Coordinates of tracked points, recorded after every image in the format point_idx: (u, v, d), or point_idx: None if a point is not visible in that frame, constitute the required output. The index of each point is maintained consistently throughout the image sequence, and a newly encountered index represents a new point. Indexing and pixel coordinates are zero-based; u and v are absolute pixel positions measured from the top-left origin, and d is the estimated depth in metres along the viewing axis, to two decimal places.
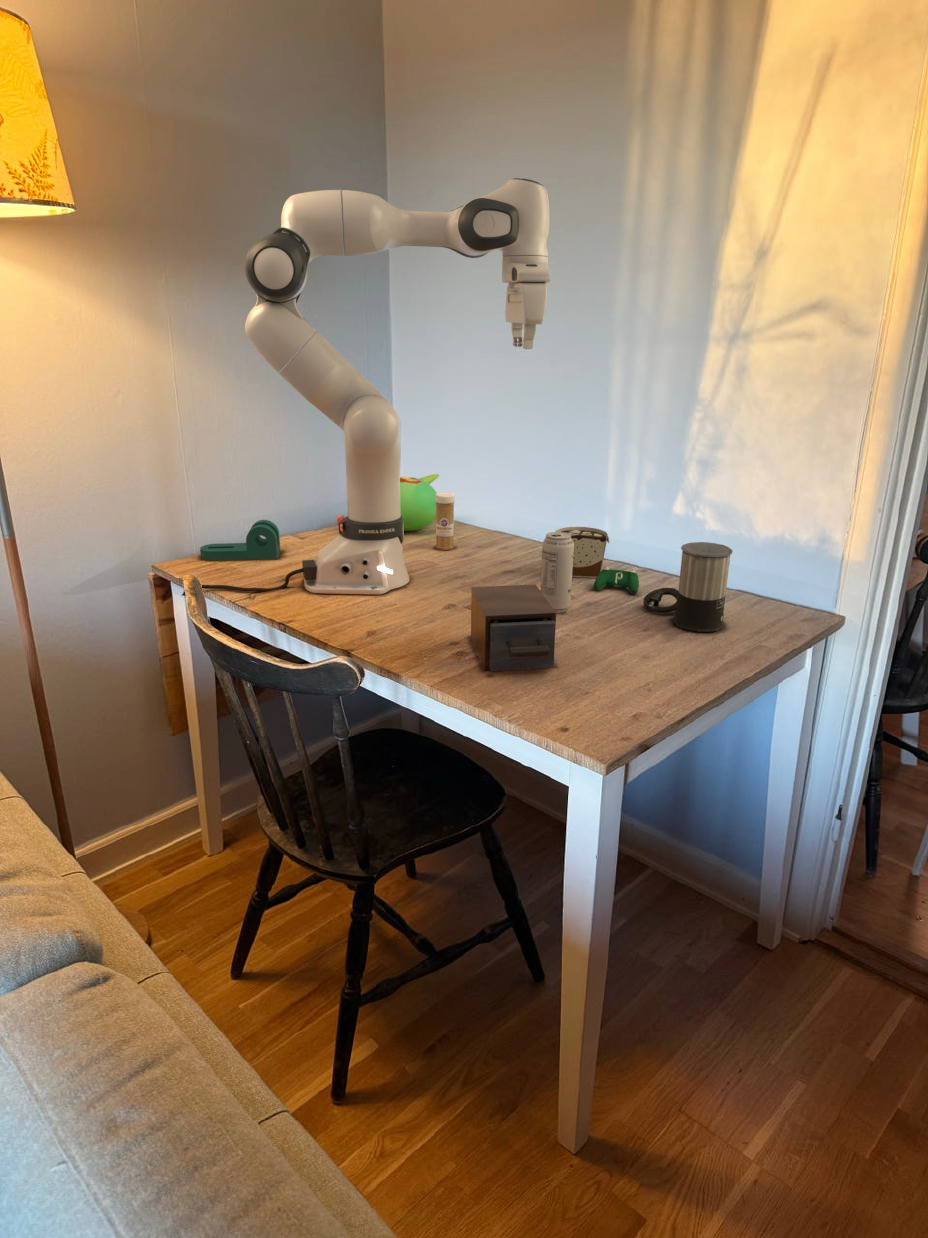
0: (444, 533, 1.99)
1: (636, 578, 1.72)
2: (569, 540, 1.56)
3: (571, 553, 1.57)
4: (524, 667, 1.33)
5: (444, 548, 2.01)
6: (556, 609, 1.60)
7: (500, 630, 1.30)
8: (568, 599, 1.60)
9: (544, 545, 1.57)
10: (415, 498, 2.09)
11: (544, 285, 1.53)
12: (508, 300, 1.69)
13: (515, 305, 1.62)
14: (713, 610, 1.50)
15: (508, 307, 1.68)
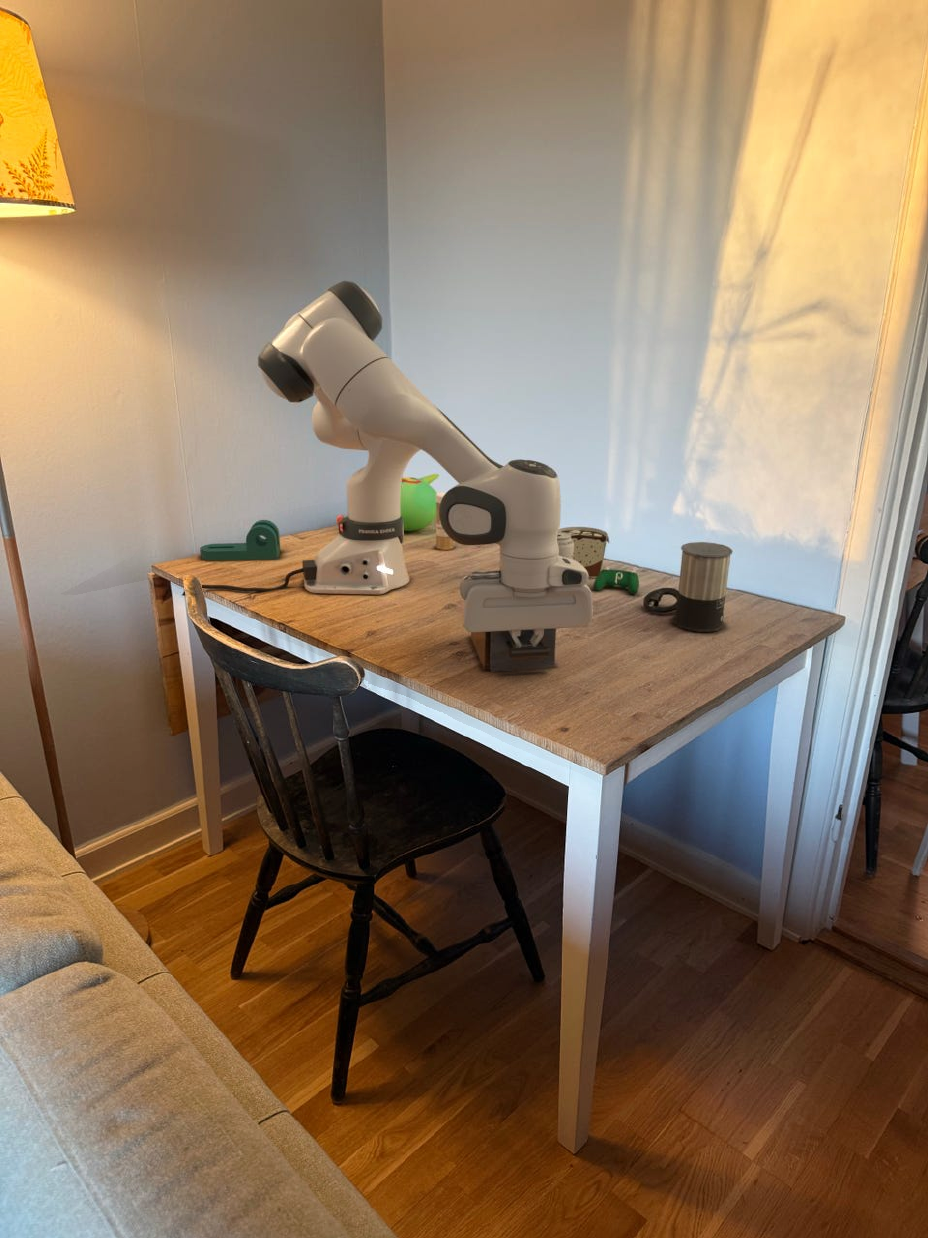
0: (444, 533, 1.99)
1: (636, 578, 1.72)
2: (569, 540, 1.56)
3: (571, 553, 1.57)
4: (524, 668, 1.33)
5: (444, 548, 2.01)
6: None
7: (500, 631, 1.30)
8: None
9: None
10: (415, 498, 2.09)
11: None
12: (483, 606, 1.24)
13: (533, 610, 1.25)
14: (713, 610, 1.50)
15: (488, 614, 1.24)
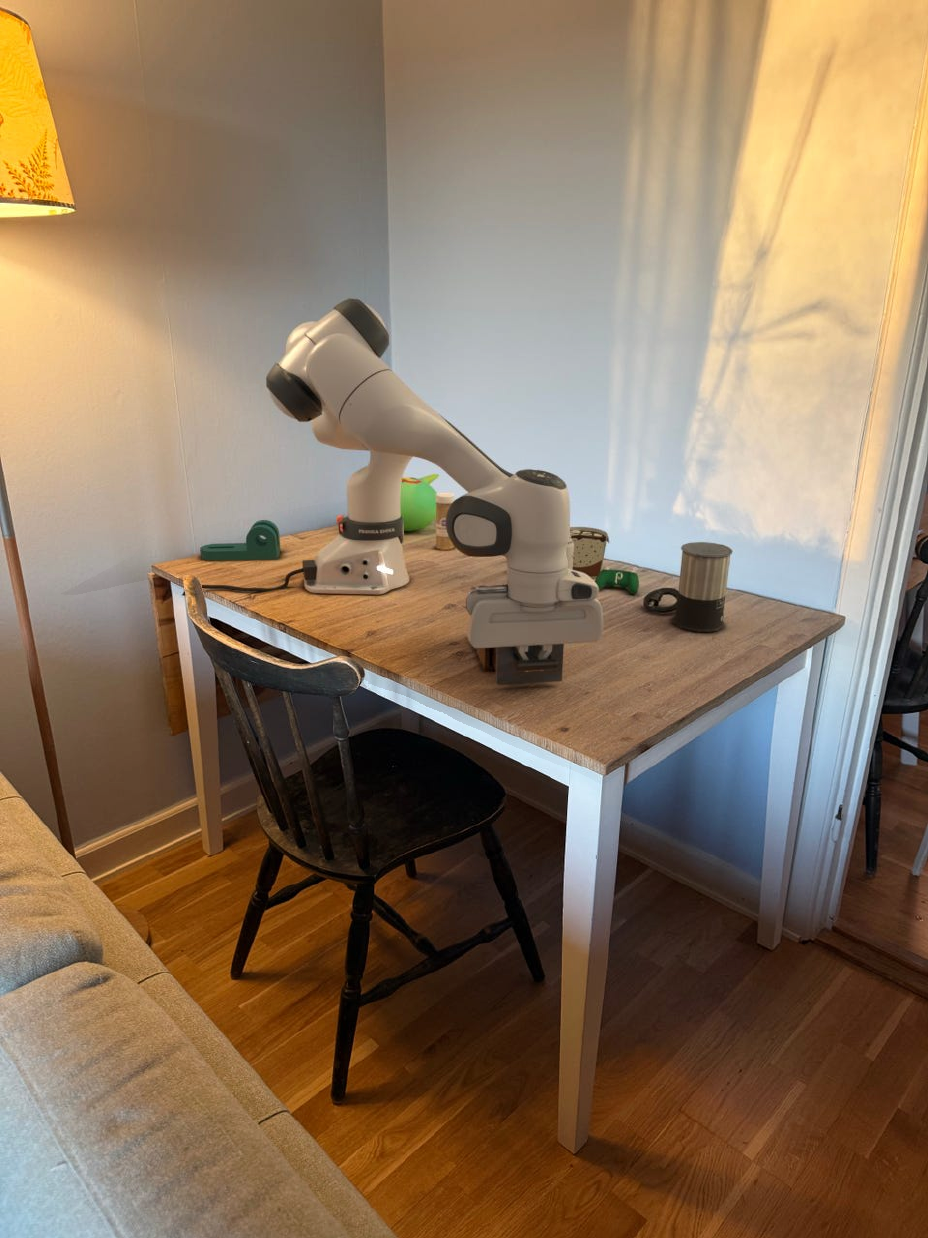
0: (444, 533, 1.99)
1: (636, 578, 1.72)
2: (569, 540, 1.56)
3: (571, 553, 1.57)
4: (531, 681, 1.28)
5: (444, 548, 2.01)
6: None
7: None
8: None
9: None
10: (415, 498, 2.09)
11: None
12: (489, 621, 1.19)
13: (541, 625, 1.21)
14: (713, 610, 1.50)
15: (495, 630, 1.20)
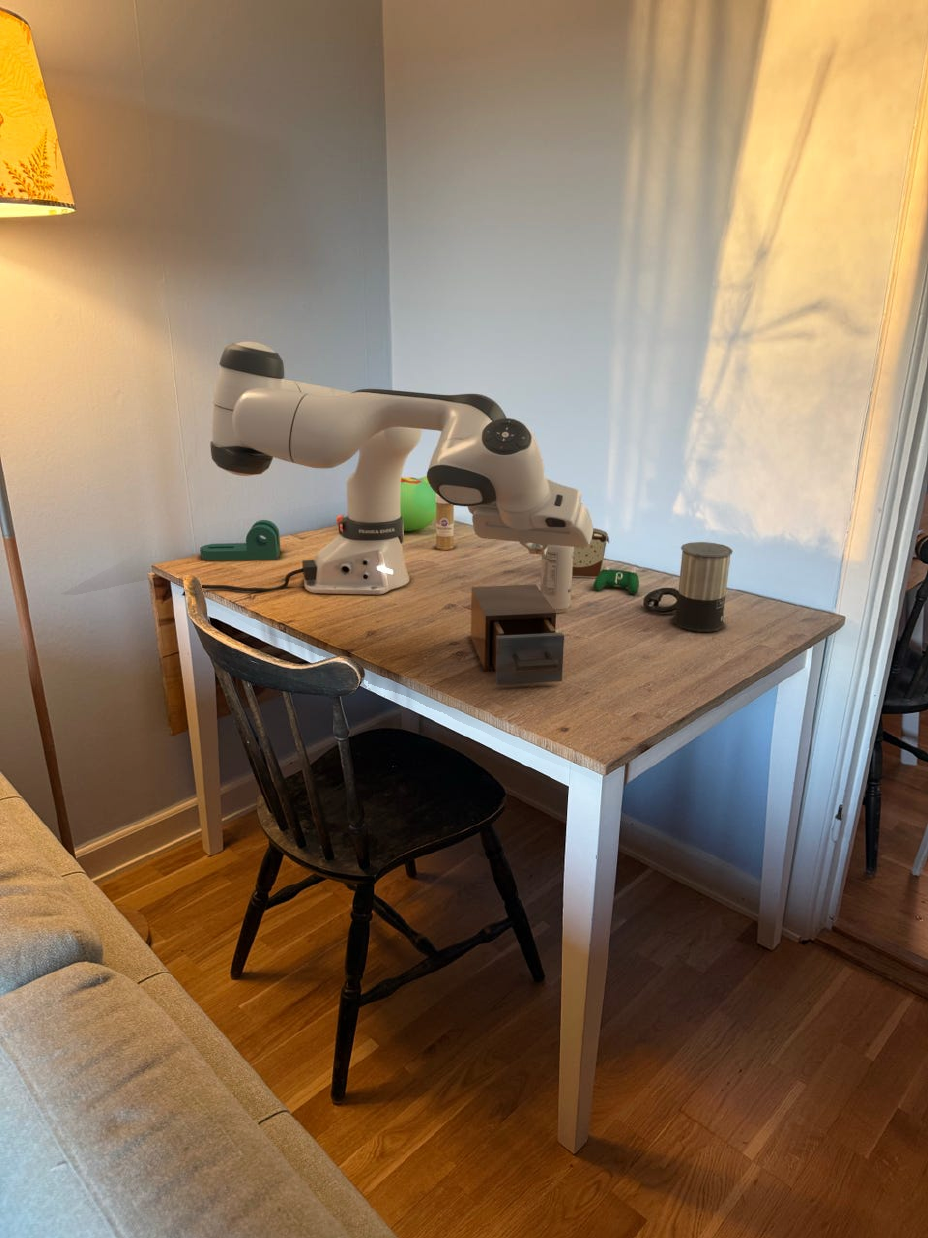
0: (444, 533, 1.99)
1: (636, 578, 1.72)
2: None
3: (571, 553, 1.57)
4: (531, 681, 1.28)
5: (444, 548, 2.01)
6: (556, 609, 1.60)
7: (506, 643, 1.25)
8: (568, 599, 1.60)
9: None
10: (415, 498, 2.09)
11: (582, 505, 1.33)
12: (486, 525, 1.39)
13: (531, 532, 1.37)
14: (713, 610, 1.50)
15: (492, 530, 1.39)
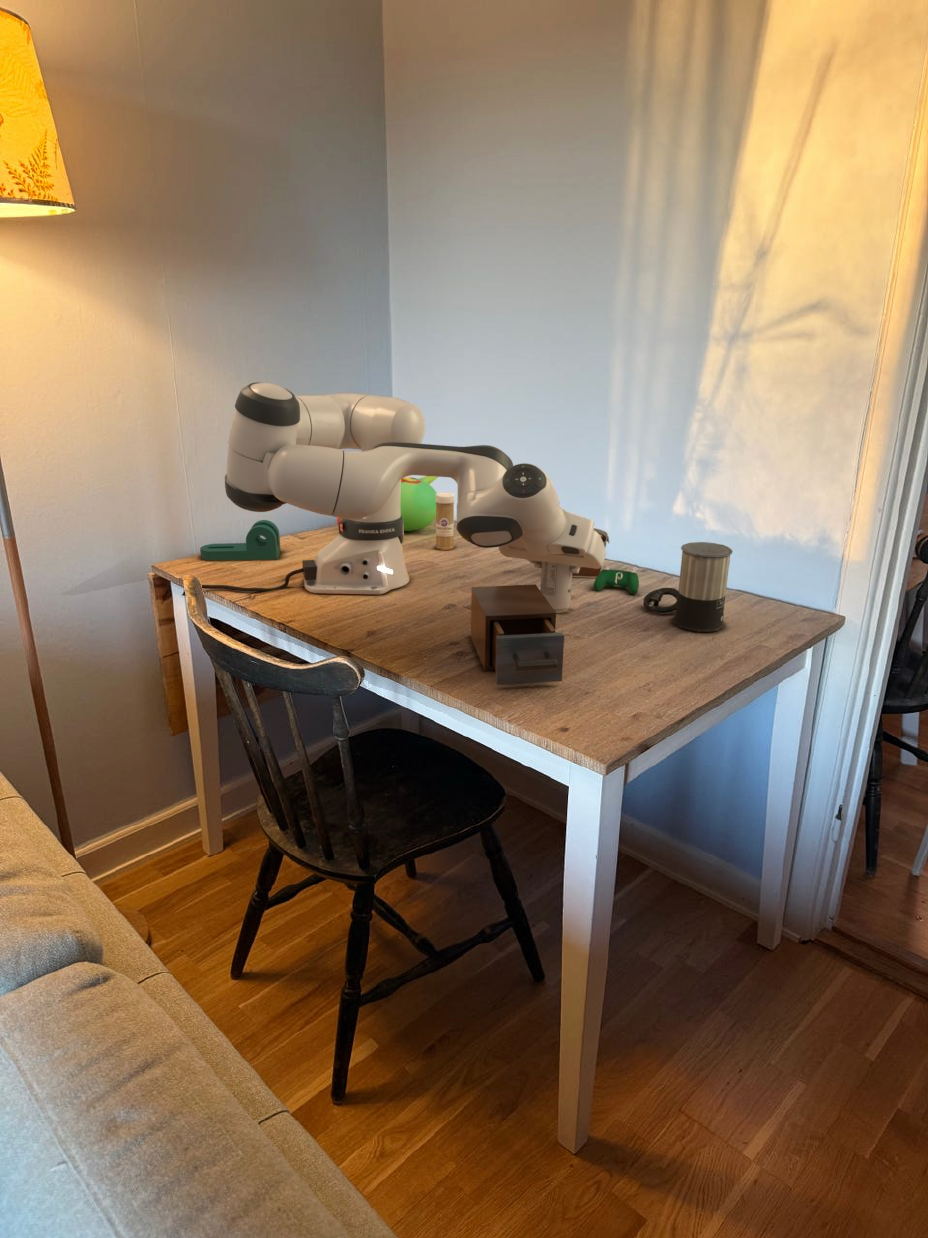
0: (444, 533, 1.99)
1: (636, 578, 1.72)
2: None
3: None
4: (531, 681, 1.28)
5: (444, 548, 2.01)
6: (556, 609, 1.60)
7: (506, 643, 1.25)
8: (568, 599, 1.60)
9: None
10: (415, 498, 2.09)
11: (595, 533, 1.48)
12: (510, 547, 1.55)
13: (550, 555, 1.53)
14: (713, 610, 1.50)
15: (515, 551, 1.56)
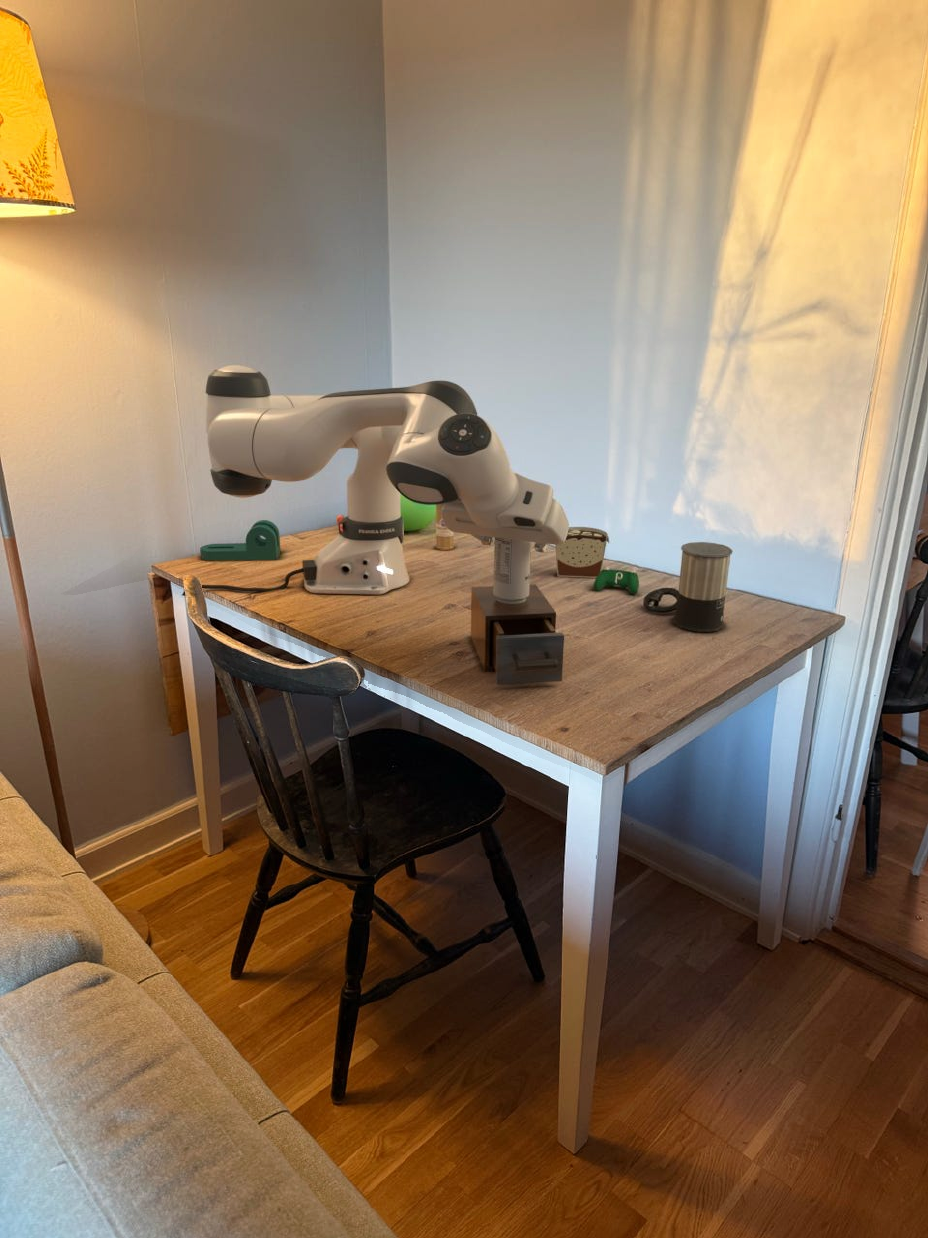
0: (444, 533, 1.99)
1: (636, 578, 1.72)
2: None
3: None
4: (531, 681, 1.28)
5: (444, 548, 2.01)
6: (511, 599, 1.36)
7: (506, 643, 1.25)
8: (526, 588, 1.36)
9: None
10: None
11: (555, 501, 1.24)
12: (456, 520, 1.31)
13: (502, 529, 1.29)
14: (713, 610, 1.50)
15: (463, 525, 1.32)
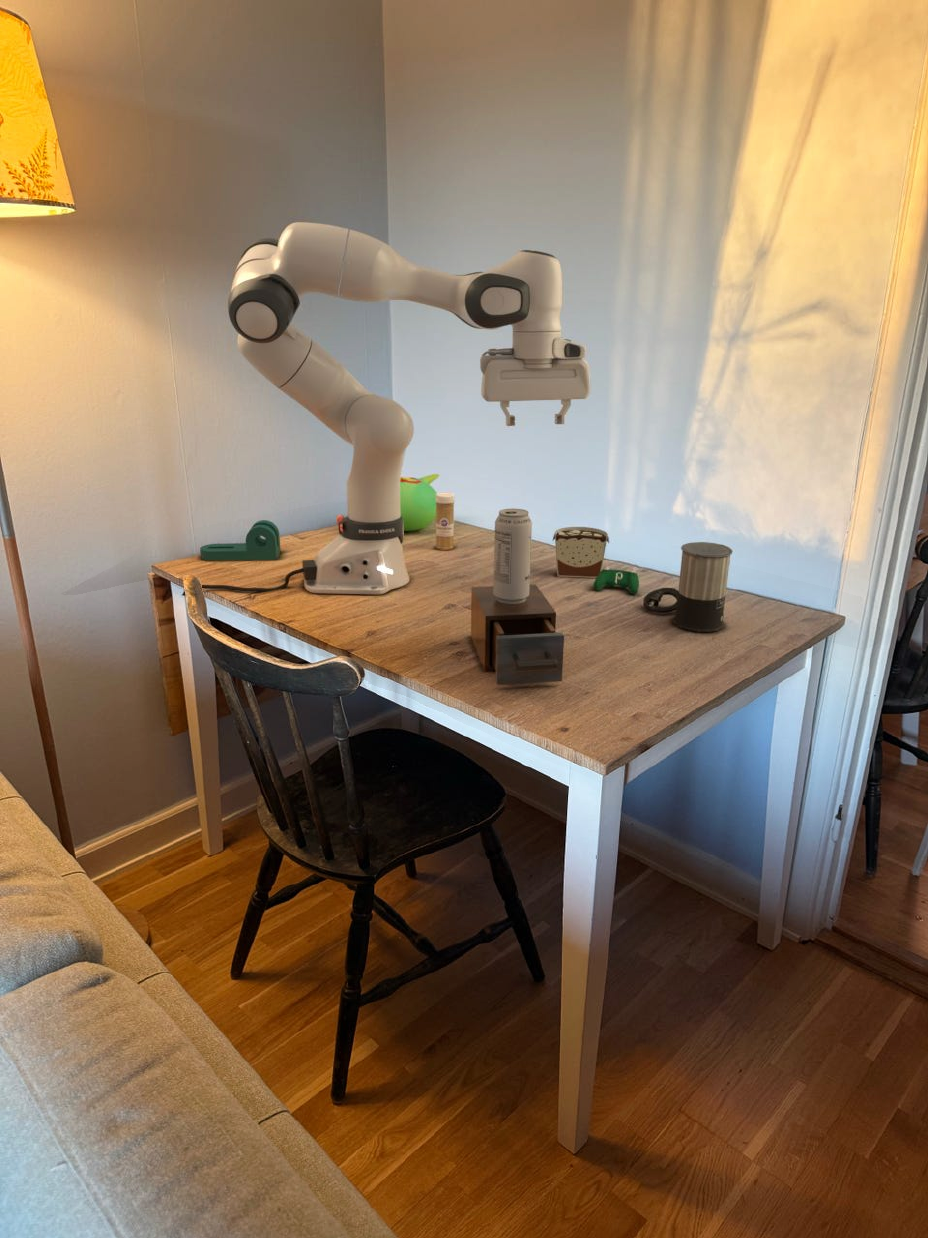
0: (444, 533, 1.99)
1: (636, 578, 1.72)
2: (526, 518, 1.32)
3: (528, 533, 1.33)
4: (531, 681, 1.28)
5: (444, 548, 2.01)
6: (511, 599, 1.36)
7: (506, 643, 1.25)
8: (526, 588, 1.36)
9: (496, 524, 1.33)
10: (415, 498, 2.09)
11: None
12: (499, 377, 1.50)
13: (540, 382, 1.51)
14: (713, 610, 1.50)
15: (503, 385, 1.50)
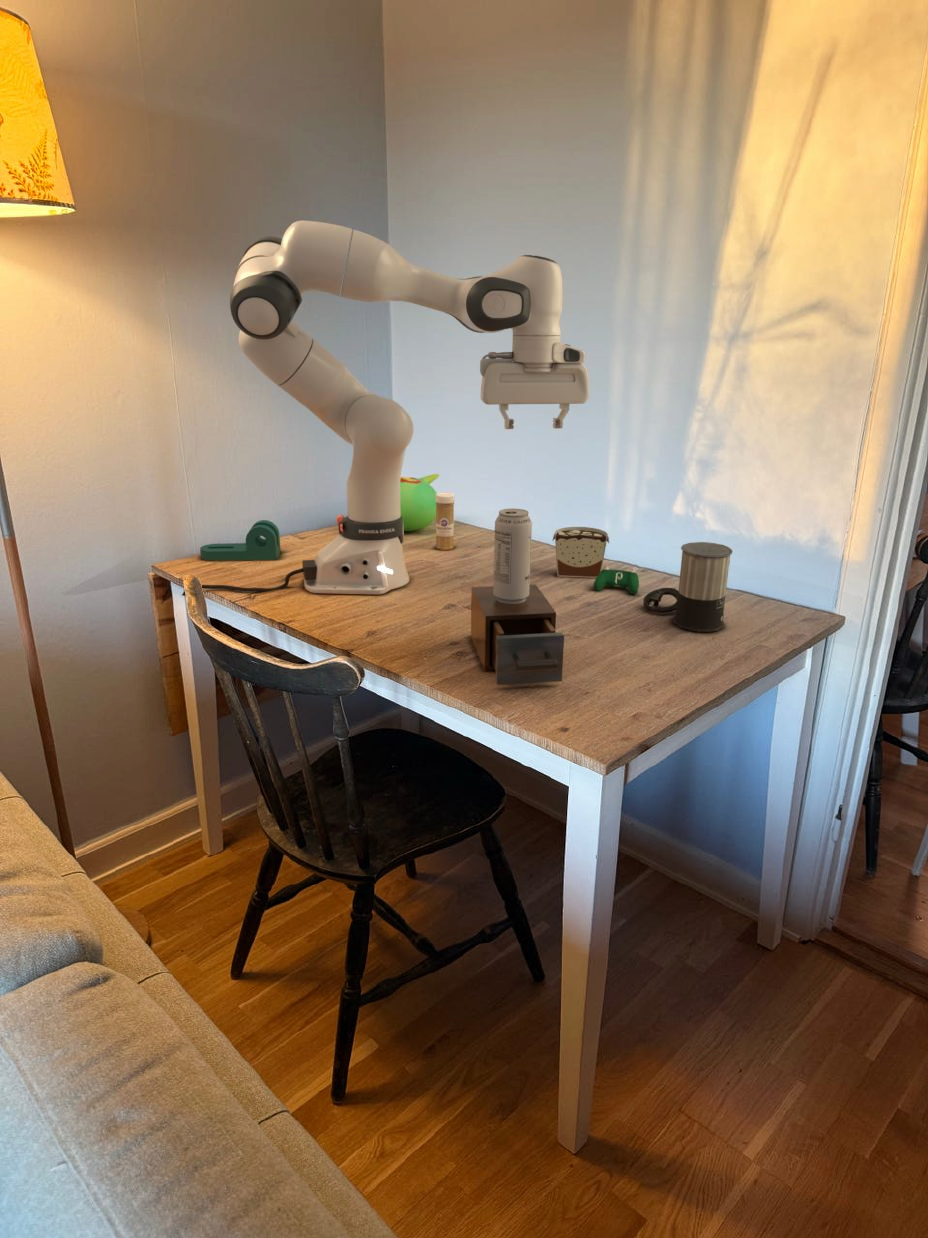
0: (444, 533, 1.99)
1: (636, 578, 1.72)
2: (526, 518, 1.32)
3: (528, 533, 1.33)
4: (531, 681, 1.28)
5: (444, 548, 2.01)
6: (511, 599, 1.36)
7: (506, 643, 1.25)
8: (526, 588, 1.36)
9: (496, 524, 1.33)
10: (415, 498, 2.09)
11: None
12: (498, 380, 1.51)
13: (539, 386, 1.52)
14: (713, 610, 1.50)
15: (503, 388, 1.51)
